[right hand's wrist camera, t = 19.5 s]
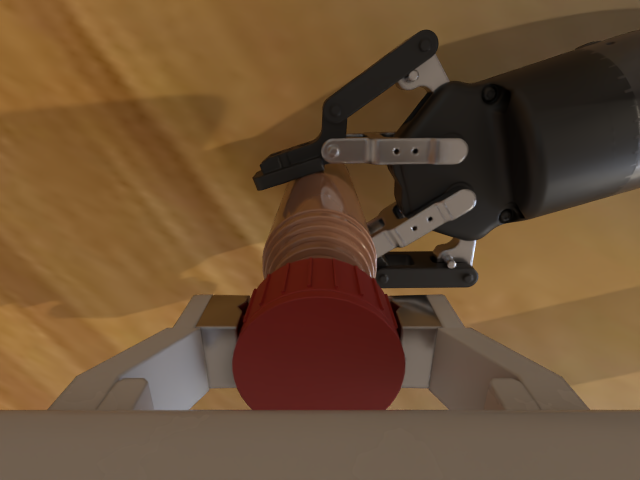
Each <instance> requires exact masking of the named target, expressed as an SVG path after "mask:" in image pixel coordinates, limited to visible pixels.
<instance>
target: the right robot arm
mask: <svg viewBox="0 0 640 480" xmlns="http://www.w3.org/2000/svg"><path fill="white" fill-rule="evenodd" d="M388 298H389V301H390V304H391V307H392V310H393V313H394V316H395V319H396V322H397V325H398V328H397V332H398V335H399V338H400V341H401V344H402V347H403V351H404V354H405V362H406V364H405V375H404V380H403V383H402V386H401V388H429V390H430V391H431V392H432V393H433V394H434V395H435V396H436V397H437V398H438V399H439V400H440V401H441V402H442V403H443V404H444V405H445V406H446V407H447V408H448V409H449V410H189V409H190V408H191V407H192V406H193V405H194V404H195V403H196V402H197V401H198V400H199V399H200V398H202V397H203V396H204V395H205V394H206V393H207V392H208V391H209V388H237V387H236V384H235V381H234V377H233V372H232V359H233V352H234V349H235V346H236V343H237V340H238V337H239V334H240V331H241V328H242V325H243V315H245V313H246V311H247V308H248V305H249V302H250V299H251V298H250V296H249V295H194V296H193V297H192V298H191V300H190V302H189V303H188V305H187V306H186V308H185V309H184V311H183V313H182V314H181V316H180V317H179V319H178V320H177V322H176V323H175V325H174V327H173V328H166V329H164V330H162V331H160V332H158V333H157V334H155V335H153V336H151V337H149V338H147V339H145V340H144V341H142V342H140V343H138V344H136V345H134V346H132V347H130V348H129V349H127V350H125V351H123V352H121V353H119V354H117V355H115V356H114V357H112V358H110V359H108V360H106V361H104V362H102V363H100V364H99V365H97V366H95V367H93V368H91V369H89V370H87V371H85V372H84V373H82V374H80V375H78V376H76V377H75V378H74V380H73V381H72V382H71V383H70V384H69V385H68V387H67V388H66V389H65V390H64V391H63V392H62V393H61V395H60V396H59V397H58V398H57V399H56V400H55V401H54V403H53V404H52V405H51V406H50V407H49V408H48V409H47V410H0V480H640V410H590V409H589V408H588V407H587V406H586V405H585V403H584V402H583V401H582V400H581V399H580V398H579V396H578V395H577V394H576V393H575V392H574V390H573V389H572V388H571V387H570V386H569V385H568V383H567V382H566V381H565V380H564V379H563V378H562V377H561V376H559V375H557V374H556V373H554V372H552V371H550V370H548V369H546V368H544V367H543V366H541V365H539V364H537V363H535V362H533V361H531V360H530V359H528V358H526V357H524V356H522V355H520V354H518V353H517V352H515V351H513V350H511V349H509V348H507V347H505V346H504V345H502V344H500V343H498V342H496V341H494V340H492V339H491V338H489V337H487V336H485V335H483V334H481V333H479V332H478V331H476V330H474V329H472V328H465V327H464V325H463V323H462V322H461V320H460V319H459V317H458V316H457V314H456V313H455V311H454V309H453V308H452V306H451V305H450V303H449V302H448V300H447V298H446V297H445V296H444V295H442V294H440V295H403V296H388Z"/></svg>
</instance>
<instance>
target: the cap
mask: <svg viewBox="0 0 640 480" xmlns="http://www.w3.org/2000/svg"><path fill="white" fill-rule="evenodd" d="M397 328H398V325H397V322H396V319H395V316H394V313H393V310H392V307H391V304H390V301H389V298H388V295H387V294H384V292H383V291H382V289H381V288H380V286H379V285H378V284H377V282H376V279H375V278H372V277H370V276H369V275H368V274H367V273H365V272H364V271H362V270H361V269H359V268H358V266H356V265H355V266H353V265H351V264H349V263H346V262H343V261H339V260H336V259H334V258H333V259H328V258H312V257H311V258H309V259H304V260H299V261H296V262H292V263H286V265H285V266H283V267H281V268H279V269H277V270H276V271H274V272H273V273H271V274H270V273H269V274H268V275H267V277H266V278H265V280H264V281H263V282H262V283H261V284H260V285H259V287H258V288H257V289H254V290H253V293H252V296H251V299H250V302H249V305H248V308H247V311H246V313H245V315H243V325H242V328H241V331H240V334H239V337H238V340H237V343H236V346H235V349H234V352H233V359H232V372H233V377H234V381H235V384H236V387H237V389H238V391H239V393H240V395H241V397H242V398H243V399H244V401H245V402H246V403H247V405H248V406H249V407H250V408H251V409H252V410H386V409H387V408H388V407H389V406H390V405H391V403H392V402H393V401H394V399H395V398H396V396H397V394H398V393H399V391H400V389H401V386H402V383H403V380H404V375H405V364H406V362H405V354H404V351H403V347H402V344H401V341H400V338H399V335H398V332H397Z"/></svg>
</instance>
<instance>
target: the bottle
mask: <svg viewBox="0 0 640 480" xmlns="http://www.w3.org/2000/svg"><path fill="white" fill-rule="evenodd" d="M324 169H325V170H324V171H321V172H318V173H315V174H311V175H307V176H305V177H302V178H299V179H296V180H293V181H289V182H288V185H287V188H286V190H285V193H284V196H283V198H282V201H281V204H280V206H279V209H278V212H277V214H276V217H275V220H274V222H273V225H272V228H271V230H270V233H269V236H268V238H267V241H266V244H265V247H264V251H263V275H264V279H265V278H266V277H267V275H268V274H269V273H270V274H271V273H273V272H274V271H276V270H277V269H279V268H281V267H283V266H285V265H286V263H292V262H296V261H299V260H304V259H309V258H311V257H312V258H328V259H333V258H334V259H336V260H339V261H343V262H346V263H349V264H351V265H353V266H355V265H356V266H358V268H359V269H361V270H362V271H364V272H365V273H367V274H368V275H369V276H370V277H372V278H376V272H377V254H376V249H375V246H374V243H373V240H372V237H371V234H370V231H369V228H368V225H367V223H366V220H365V217H364V214H363V211H362V208H361V206H360V203H359V200H358V197H357V194H356V191H355V189H354V186H353V183H352V180H351V177H350V174H349V172H348V169H347V167H346V166H345V164H344V163H337V164H333V163H330V164H326V165H324Z"/></svg>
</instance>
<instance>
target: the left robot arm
mask: <svg viewBox="0 0 640 480" xmlns="http://www.w3.org/2000/svg"><path fill="white" fill-rule="evenodd" d="M437 49H438V38H437V36H436V34H435V33H434V32H432V31H430V30H422V31H420V32H418V33H417V34H415V35H413V36H412V37H410V38H409V39H407V40H406V41H404V42H403V43H402V44H400V45H399V46H397V47H396V48H395V49H393V50H392V51H391V52H389V53H388V54H387V55H385V56H384V57H383V58H381V59H380V60H379V61H377V62H376V63H375V64H373V65H372V66H371V67H369V68H368V69H366V70H365V71H364V72H362V73H361V74H360V75H358V76H357V77H356V78H354V79H353V80H352V81H350V82H349V83H348V84H346V85H345V86H344V87H342V88H341V89H340V90H338V91H337V92H335V93H334V94H333V95H331V96H330V97H329V98H327V99H326V100H325V102H324V104H323V112H322V130H321V133H320V134H319V136H318V137H317V138H316V139H314V140H312V141H310V142H307V143H304V144H300V145H297V146H294V147H291V148H289V149H285V150H282V151H279V152H276V153H273V154H271V155H269V156H268V157H267V158H266V159H265V160H264V161H263V162H262V163H261V164H260V167H261V171H259V172H257V173H256V174H255V175H254V177H253V180H254V183H255V185H256V188H257V190H258V191H260V190H264V189H267V188H270V187H274V186H277V185H280V184H283V183H286V182H289V181H293V180H296V179H299V178H302V177H305V176H307V175H311V174H315V173H318V172H321V171H324V170H325V169H324V165H326V164H330V163H333V164H337V163H369V164H376V165H384V164H387V167H388V169H389V171H390V173H391V174H392V176H393V178H394V180H395V186H394V195H395V199H396V202H394V203H393V204H391V205H389V206H388V207H386V208H385V209H383V210H382V211H381V212H380V213H379V215H378V216H377V217H376V218H374V219H372V220H371V221H369V222H368V223H367V225H368V228H369V231H370V234H371V237H372V240H373V243H374V246H375V249H376V254H377V272H376V278H375V279H376V282H377V284H378V285H379V286H380V288H448V287H470V286H472V285H474V284H475V283H476V282H477V280H478V273H477V272H476V270H475V269H474V268H473V266H472V262H473V256H474V250H475V244H476V240H478V239H481V238H482V237H484V236H485V235H486V234H488V233H489V232H490V231H491V230H493V229H494V228H496V227H497V226H499V225H502V224H505V223H511V222H518V221H524V220H528V219H532V218H535V217H539V216H542V215H546V214H550V213H553V212H557V211H560V210H564V209H567V208H571V207H574V206H578V205H581V204H585V203H588V202H592V201H595V200H599V199H602V198H606V197H609V196H613V195H616V194H620V193H623V192H627V191H630V190H634V189H637V188H640V30H637V31H633V32H629V33H626V34H622V35H619V36H616V37H613V38H610V39H607V40H604V41H596V42H590V43H587V44H585V45H582V46H580V47H578V48H576V49H575V50H574V51H570V52H567V53H564V54H561V55H558V56H555V57H552V58H549V59H546V60H543V61H540V62H537V63H534V64H531V65H528V66H525V67H522V68H519V69H516V70H513V71H510V72H507V73H504V74H501V75H498V76H495V77H492V78H489V79H486V80H483V81H480V82H476V83H472V84H469V83H464V82H460V81H449V79H448V77H447V75H446V73H445V71H444V69H443V67H442V65H441V63H440V62H439V60H438V58H437V56H436V54H435V53H436V51H437ZM394 84H395V85H396V86H397V87H398V88H399V89H401V90H412V89H415V88H417V87H422V88H424V89H425V90H426V91H427V94H426V95H425V96H424V98H423V99H422V100H421V101H420V103H419V104H418V105H417V107H416V108H415V109H414V110H413V112H412V113H411V114H410V115H409V117H408V118H407V119H406V121H405V122H404V123H403V124H402V126H401V127H400V128H399V129H398V131H397V132H365V133H346V129H347V118H348V117H349V116H351V115H352V114H353V113H355V112H356V111H358V110H359V109H360V108H362V107H363V106H365V105H366V104H367V103H369V102H370V101H372V100H373V99H374V98H376V97H377V96H378V95H380V94H381V93H383V92H384V91H385V90H387V89H388V88H390V87H391V86H392V85H394ZM430 231H435V232H438V233H441V234H444V235H448V236H451V237H453V239H452V240H451V241H450V242H448V243H446V244H441V245H437V246H436V247H435V249H434V250H433V251H414V252H389V251H390V250H392V249H394V248H396V247H405V246H407V245H408V244H410V243H412V242H413V241H415V240H417V239H418V238H420V237H422V236H424V235H425V234H427V233H429V232H430Z"/></svg>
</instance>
